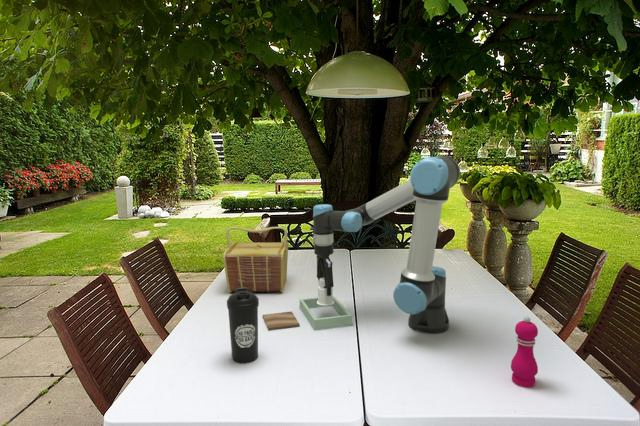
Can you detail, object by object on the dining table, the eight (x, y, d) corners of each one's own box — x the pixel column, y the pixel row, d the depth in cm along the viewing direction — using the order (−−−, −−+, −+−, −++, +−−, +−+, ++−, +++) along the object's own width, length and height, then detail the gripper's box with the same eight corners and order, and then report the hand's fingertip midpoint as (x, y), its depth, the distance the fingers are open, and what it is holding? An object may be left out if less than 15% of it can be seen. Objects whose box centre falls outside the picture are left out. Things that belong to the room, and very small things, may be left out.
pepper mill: (529, 375, 139) (533, 311, 136) (541, 388, 132) (546, 321, 129) (505, 375, 139) (509, 312, 136) (516, 388, 132) (520, 321, 129)
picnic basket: (222, 296, 213) (219, 232, 208) (234, 279, 238) (231, 222, 233) (286, 296, 212) (284, 232, 207) (291, 279, 237) (289, 221, 232)
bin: (352, 325, 178) (352, 315, 177) (314, 330, 174) (314, 320, 173) (333, 304, 201) (333, 295, 200) (299, 308, 197) (299, 299, 196)
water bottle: (230, 366, 147) (227, 297, 144) (228, 352, 157) (225, 287, 153) (262, 362, 150) (260, 293, 146) (258, 348, 160) (255, 284, 156)
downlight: (313, 301, 188) (313, 277, 187) (329, 298, 191) (328, 275, 189) (321, 307, 181) (321, 283, 179) (337, 305, 184) (337, 280, 182)
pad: (299, 326, 178) (299, 324, 177) (268, 330, 174) (268, 328, 174) (291, 313, 191) (291, 311, 191) (262, 317, 188) (262, 314, 188)
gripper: (307, 239, 192) (309, 293, 195) (321, 250, 172) (323, 309, 175) (325, 238, 194) (327, 291, 197) (341, 248, 174) (342, 306, 177)
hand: (325, 299), depth 186 cm, fingers closed on downlight, 8 cm apart
